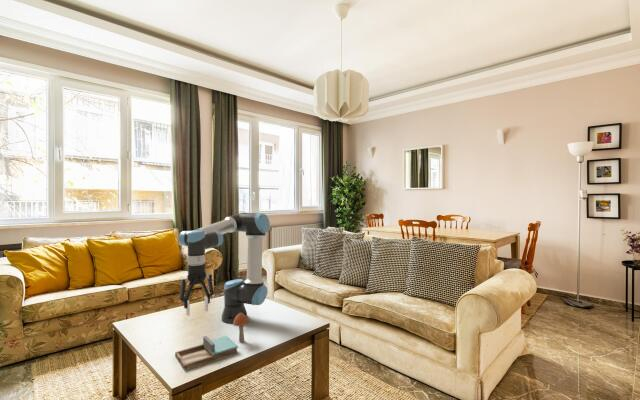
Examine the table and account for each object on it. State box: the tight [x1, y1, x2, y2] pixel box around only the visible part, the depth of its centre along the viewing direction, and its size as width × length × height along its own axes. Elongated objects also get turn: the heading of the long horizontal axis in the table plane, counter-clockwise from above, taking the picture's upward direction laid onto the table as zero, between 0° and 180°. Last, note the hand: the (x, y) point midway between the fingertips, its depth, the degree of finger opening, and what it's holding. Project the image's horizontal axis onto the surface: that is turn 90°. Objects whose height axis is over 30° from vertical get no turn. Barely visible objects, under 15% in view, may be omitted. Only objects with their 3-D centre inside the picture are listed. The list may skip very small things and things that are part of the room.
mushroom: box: [232, 313, 250, 343], centre depth 168 cm, size 8×8×15 cm
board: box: [174, 343, 238, 371], centre depth 154 cm, size 15×24×2 cm, turn 128°
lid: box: [202, 335, 239, 355], centre depth 158 cm, size 14×12×4 cm
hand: (197, 312), depth 151 cm, fingers open, 8 cm apart
